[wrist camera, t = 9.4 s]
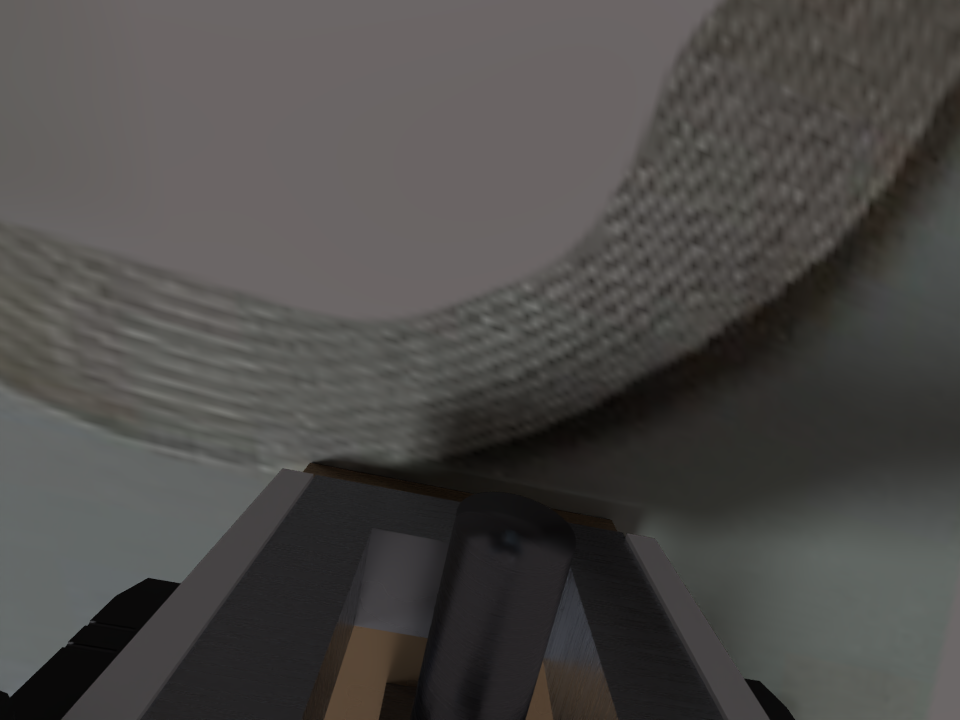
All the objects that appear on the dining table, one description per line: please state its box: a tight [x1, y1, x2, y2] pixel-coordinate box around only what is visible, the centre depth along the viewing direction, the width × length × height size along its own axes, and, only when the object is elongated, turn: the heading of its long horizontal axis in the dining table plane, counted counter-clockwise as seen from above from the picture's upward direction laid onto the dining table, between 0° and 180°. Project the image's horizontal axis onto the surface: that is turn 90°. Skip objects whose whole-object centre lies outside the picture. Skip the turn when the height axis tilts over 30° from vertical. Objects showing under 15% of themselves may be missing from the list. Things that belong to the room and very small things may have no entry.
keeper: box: [303, 463, 617, 720], centre depth 11 cm, size 14×10×10 cm
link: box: [140, 475, 724, 720], centre depth 8 cm, size 2×8×8 cm, turn 78°
